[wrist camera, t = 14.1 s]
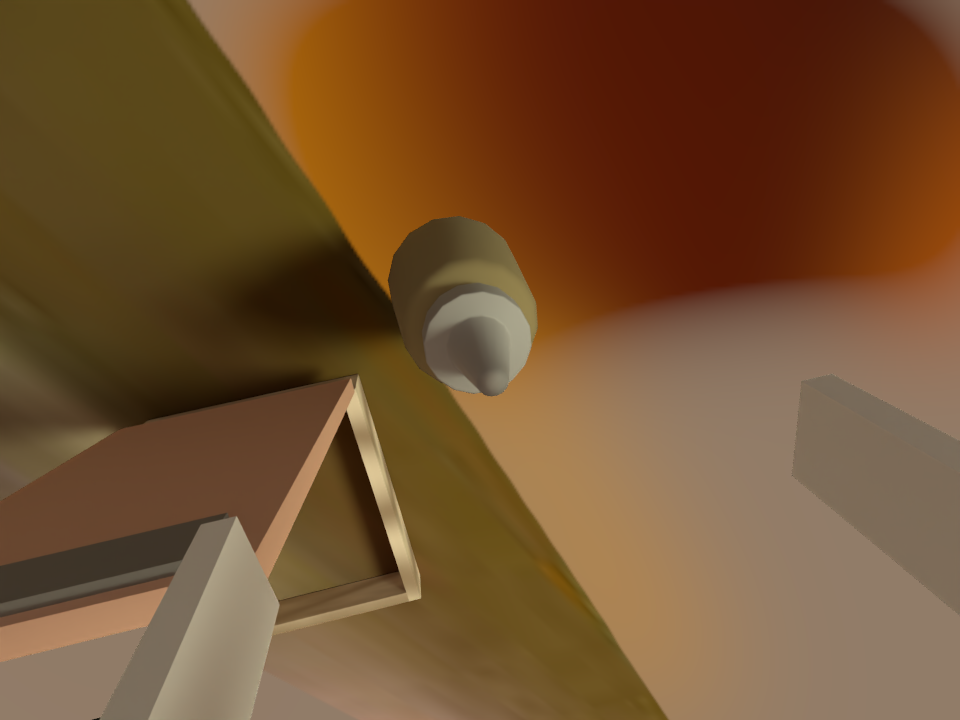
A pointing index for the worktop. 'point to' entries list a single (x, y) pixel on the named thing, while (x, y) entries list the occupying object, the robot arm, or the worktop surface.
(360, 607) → the frame
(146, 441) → the lid
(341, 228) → the worktop surface
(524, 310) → the squeeze bottle
